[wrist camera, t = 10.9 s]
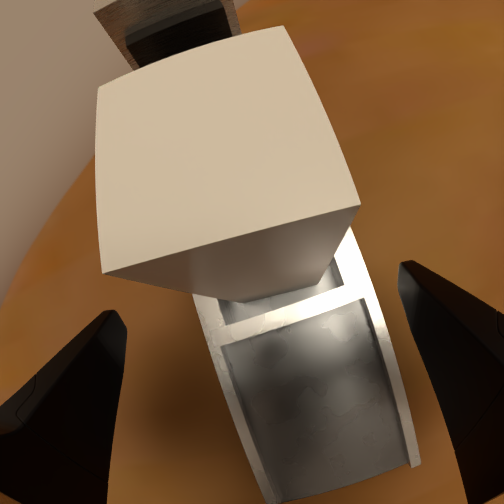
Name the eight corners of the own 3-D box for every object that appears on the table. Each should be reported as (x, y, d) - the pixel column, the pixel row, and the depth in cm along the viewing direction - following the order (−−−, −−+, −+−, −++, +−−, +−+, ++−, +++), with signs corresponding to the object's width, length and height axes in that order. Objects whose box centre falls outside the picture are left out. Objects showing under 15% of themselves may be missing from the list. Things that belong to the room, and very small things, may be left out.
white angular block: (317, 284, 16) (361, 204, 4) (242, 303, 17) (101, 273, 5) (295, 202, 17) (275, 10, 5) (224, 221, 18) (99, 70, 6)
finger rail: (411, 448, 15) (524, 587, 1) (272, 493, 16) (223, 670, 2) (281, 93, 21) (250, -87, 7) (161, 137, 21) (48, -5, 8)
